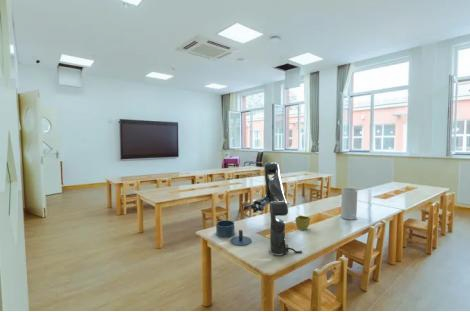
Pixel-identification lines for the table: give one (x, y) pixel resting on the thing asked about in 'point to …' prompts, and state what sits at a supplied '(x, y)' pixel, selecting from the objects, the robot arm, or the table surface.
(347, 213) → the cylinder vase
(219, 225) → the pot
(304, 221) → the flower pot
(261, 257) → the table surface
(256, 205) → the robot arm
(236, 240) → the lid
